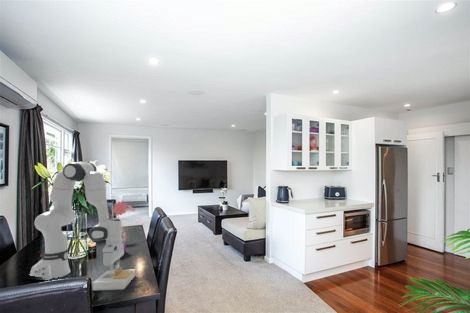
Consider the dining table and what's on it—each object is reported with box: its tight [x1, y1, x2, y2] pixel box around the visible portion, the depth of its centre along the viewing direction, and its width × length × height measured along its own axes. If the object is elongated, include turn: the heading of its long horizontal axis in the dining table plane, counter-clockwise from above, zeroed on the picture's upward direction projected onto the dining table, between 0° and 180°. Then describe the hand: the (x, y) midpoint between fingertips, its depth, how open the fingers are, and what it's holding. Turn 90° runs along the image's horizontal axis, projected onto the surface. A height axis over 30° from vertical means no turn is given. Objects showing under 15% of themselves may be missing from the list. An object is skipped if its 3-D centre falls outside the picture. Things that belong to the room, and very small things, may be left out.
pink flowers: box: [109, 200, 135, 241], centre depth 225 cm, size 15×26×35 cm, turn 138°
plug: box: [109, 259, 121, 270], centre depth 157 cm, size 5×5×6 cm
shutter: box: [113, 266, 133, 279], centre depth 142 cm, size 7×9×3 cm
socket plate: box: [92, 268, 136, 291], centre depth 142 cm, size 16×16×4 cm
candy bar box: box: [121, 229, 127, 253], centre depth 192 cm, size 11×5×16 cm, turn 163°
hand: (114, 268), depth 157 cm, fingers closed on plug, 4 cm apart
